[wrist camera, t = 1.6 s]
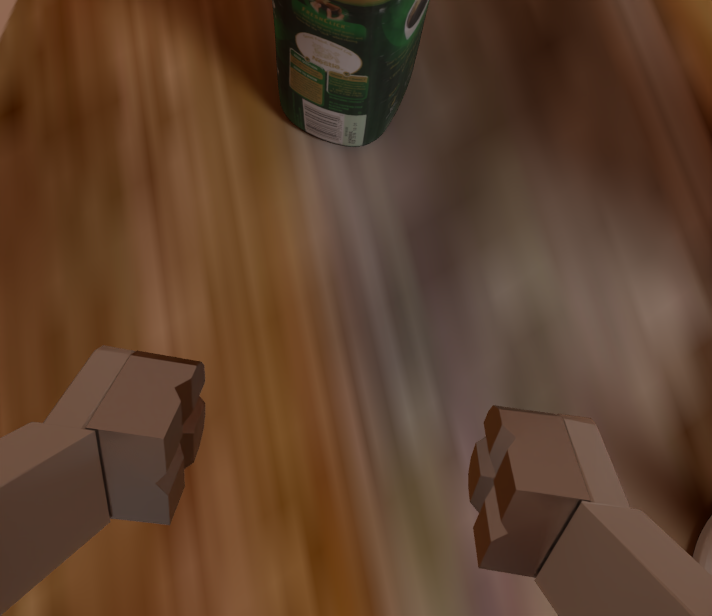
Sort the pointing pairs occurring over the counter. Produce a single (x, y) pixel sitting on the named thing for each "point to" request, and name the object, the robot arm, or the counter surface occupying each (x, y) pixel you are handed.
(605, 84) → the counter surface
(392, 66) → the coffee jar
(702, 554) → the candlestick
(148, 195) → the counter surface
